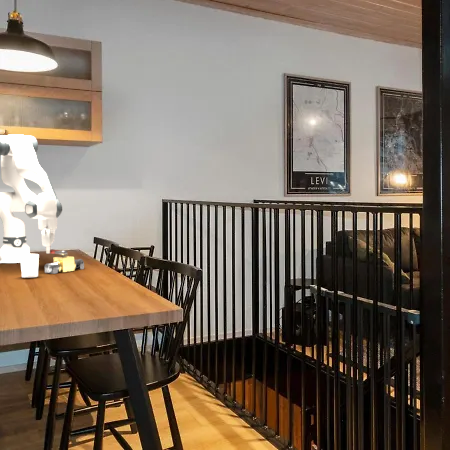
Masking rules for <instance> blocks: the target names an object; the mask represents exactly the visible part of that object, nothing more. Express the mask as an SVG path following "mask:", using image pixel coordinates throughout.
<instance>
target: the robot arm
mask: <svg viewBox="0 0 450 450" xmlns="http://www.w3.org/2000/svg"><path fill="white" fill-rule="evenodd" d="M38 149H39V143H38V140H37V137H35V136H33V135H29V134H28V135H24V134H8V135H3V134H1V135H0V177H1V178H0V179H1V181H2V183H3V184H5V185H6V186H8V187H11V188H12V190H13V191H7V192H6V191H1V192H0V220H1V222H2V223H1V224H2V229H3V237H2V243H3V244H2V245H1V248H0V264H17V263H18V264H21V262H20V255H23V254H31V251H30V245H28V243H27V240H28V239H27V236H26V223H25V221H24V220H22V219H21V218H19V217H17V216H15V215H14V213H17V212H19V213H20V212H22V213H23V212H25V214H26V216H27V217H28V218H29V219H37V221H38V222H37V225H38V230H40V232H41V245H42V247H45V251H46V252H45V253H46V254H48V255H49V254H51V253H50V252H51V249H52V244H53V243H54V242H55V237H56V235H55V234H56V230H57V229H58V218H59V217H60V216H61V214H62V212H63V205H62V203H61V202H60V200H59V198H58V197H57V194H56V192H55V189H54V187H53V184H52V182H51V179H50V177H49V175H48V173H47V172H46V171H45V170H44V169H43V168H42V167H41V165H40V164H39V161H38V157H37V152H38ZM25 180H29V181H31V182H33V183H36V184H37V185H39V187H40V188H41V191H42V192H40V193H38V195H37V194H36V193H34V192H33V191H31V190H30V189H29V187H28V186H27V183H26V182H25Z"/></svg>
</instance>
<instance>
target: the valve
mask: <svg viewBox="0 0 450 450" xmlns="http://www.w3.org/2000/svg"><path fill="white" fill-rule="evenodd" d="M52 258H53V262H50V263H46V264H44V273H45V274H49V275H57V274H60V273H68V272H73V271H74V272H75V271H76V270H84V269H85V262H84V259H82V258H78V259H75V256H69V255H61V256H54V257H52Z"/></svg>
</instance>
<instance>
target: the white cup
mask: <svg viewBox="0 0 450 450" xmlns="http://www.w3.org/2000/svg"><path fill="white" fill-rule="evenodd" d="M39 258H40V254H38V253H30V254H23V255H20V270H21V278H24V279H25V278H26V279H29V278H37V277H39V264H40V263H39V261H40V260H39Z"/></svg>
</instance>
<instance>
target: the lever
mask: <svg viewBox="0 0 450 450" xmlns="http://www.w3.org/2000/svg"><path fill="white" fill-rule="evenodd" d="M49 254H52V255H53V254H54V255H55V254H56V255H61V256H62V255H66V256H68V251H67V250H59V249H52V248H51V252H50V253H49Z"/></svg>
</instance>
